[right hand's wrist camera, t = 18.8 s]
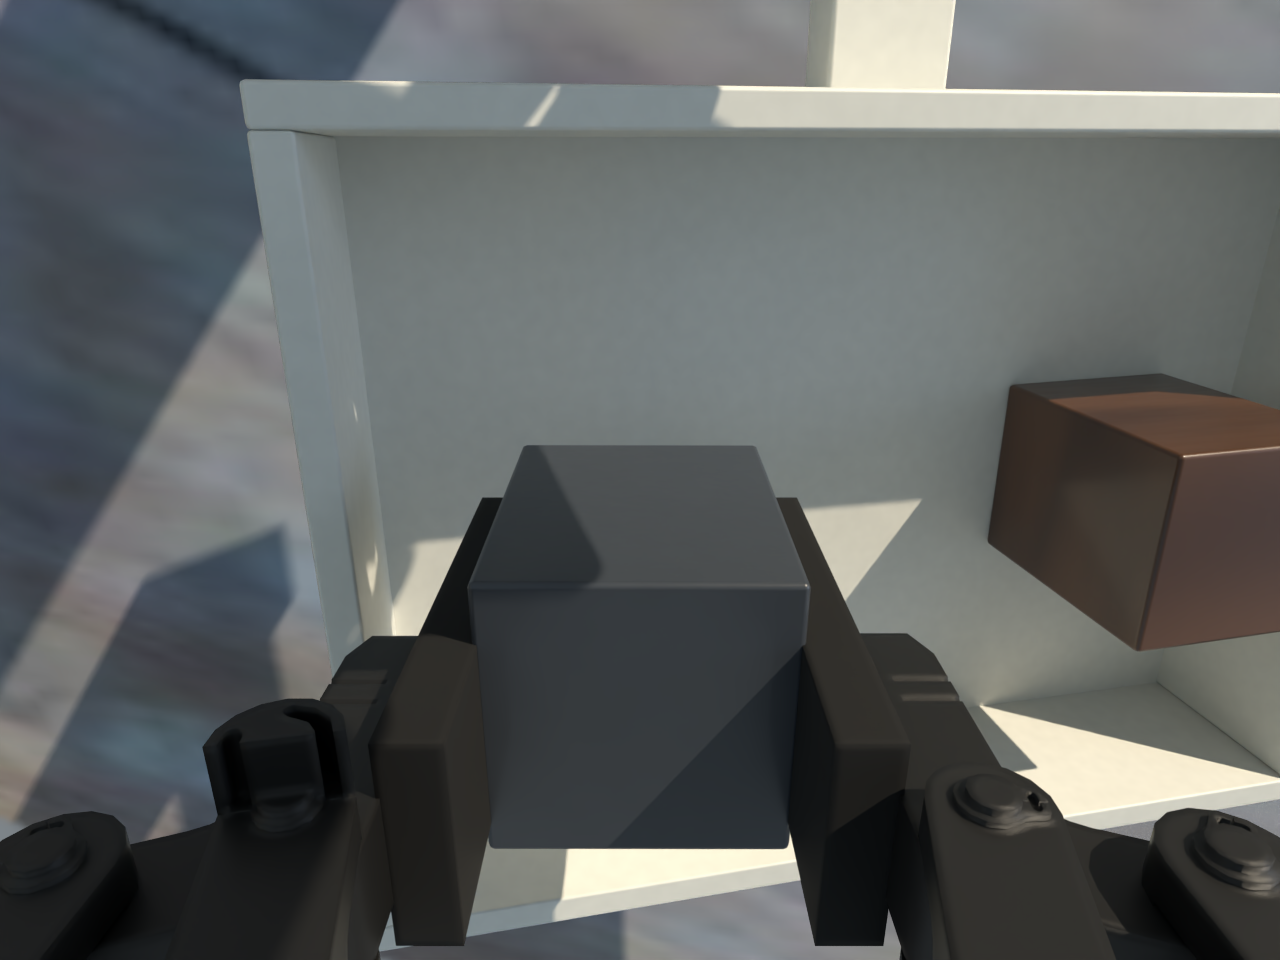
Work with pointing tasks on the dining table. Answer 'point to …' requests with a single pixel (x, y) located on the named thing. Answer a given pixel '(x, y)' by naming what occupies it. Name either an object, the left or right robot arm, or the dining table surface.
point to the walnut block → (1145, 505)
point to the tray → (780, 363)
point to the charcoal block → (639, 650)
